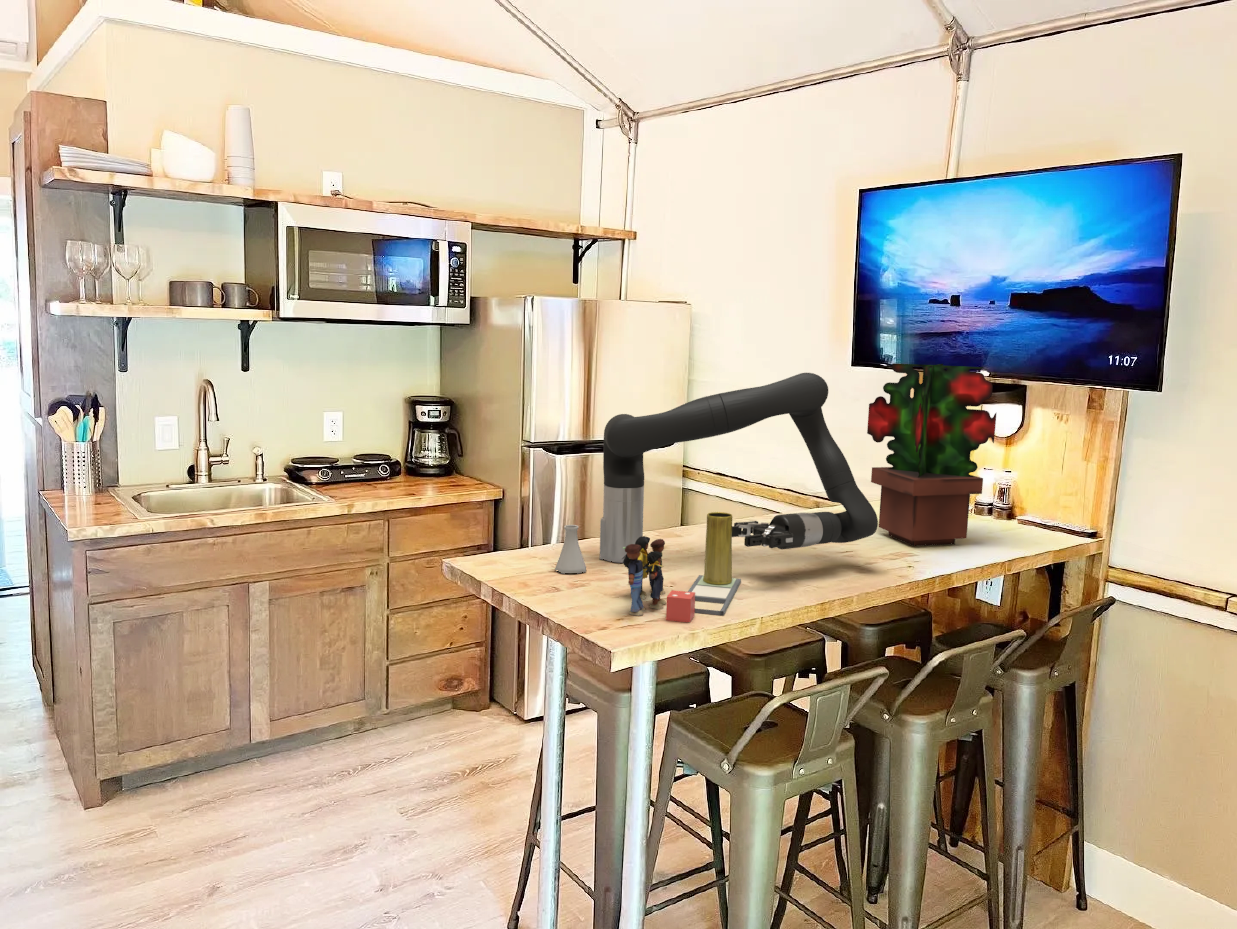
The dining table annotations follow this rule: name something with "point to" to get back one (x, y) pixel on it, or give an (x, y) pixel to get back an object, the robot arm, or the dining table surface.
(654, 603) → the doll family
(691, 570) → the dining table surface
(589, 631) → the dining table surface
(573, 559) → the flask
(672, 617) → the red die
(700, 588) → the game board
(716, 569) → the vase
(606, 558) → the robot arm
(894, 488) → the potted plant
